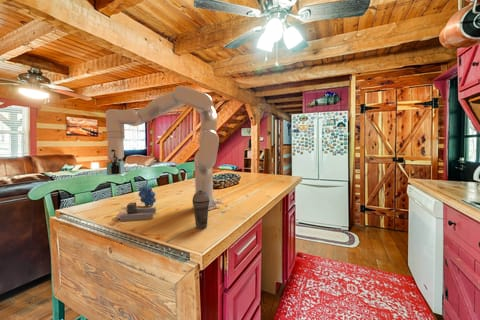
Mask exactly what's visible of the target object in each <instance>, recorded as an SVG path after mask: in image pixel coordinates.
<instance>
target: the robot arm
mask: <svg viewBox="0 0 480 320" xmlns="http://www.w3.org/2000/svg"><path fill="white" fill-rule="evenodd" d="M213 101H214V100H213V99H212V97H211V96H210V95H209V94H207V93H205V92H203V91H199V90H198V89H195V88H192V87H189V86H186V85H178V86H175V88H174V89H173V90H171V91H170V92H167V93H165V94H163V95H160V96H157V97H155V98H153V100H152V101H151V102H149V103H148V104H147V105H145V106H142V107H141V108H139V109H136V110H135V109H133V108H131V109H107V110H106V111H105V123H106V140H107V152H106V153H107V157H106V158H107V160H110V161H111V173H112V174H119V165H118V161H124V157H125V150H124V148H125V147H124V141H123V140H124V139H125V136H126V135H125V125H128V126H131V127H137V126H140V125H142V124H146V123H147V122H149V121H152V120H154V119H156V118H158V117H161V116H163V115H165V114H167V113H169V112H172V111H173V110H176V109H178V108H182V107H184V106H185V105H187V106H190V107H192V108H194V110H195V111H196V112H197V113H198V114H199V115H200V118H201V122H200V129H199V134H198V139H197V141H198V143H199V145H198V151H197V152H196V154H195V155H194V158H193V159H194V161H193V162H194V176H195V177H194V179H195V180H194V183H195V184H194V185H195V186H194V187H195V189H194V190H195V191H194V192H195V193H196V192H198V191H202V185H203V180H204V187H203V191H205V192H206V193H207V194H208V196H209V199H210V201H209V206H208V211H211V210H214V209H216V207H217V205H221V204H223V203H222V199H221V200H219V199H214V181H213V179H214V176H213V175H214V173H213V167H214V166H215V164H216V162H217V157H218V151H219V144H220V137H219V135H218V133H217V125H218V115H217V114H218V113H217V111H216V110H215V108H214V107H213ZM195 193H194V194H195ZM192 209H193V210H194V206H193V205H192Z"/></svg>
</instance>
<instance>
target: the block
mask: <svg viewBox="0 0 480 320" xmlns="http://www.w3.org/2000/svg"><path fill="white" fill-rule="evenodd" d="M105 163H106V176H115V175H123V174H125V161H124V160H123V161H118V165H119V174H112V173H111V160H110V161H106V162H105Z"/></svg>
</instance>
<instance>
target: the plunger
mask: <svg viewBox="0 0 480 320" xmlns="http://www.w3.org/2000/svg"><path fill="white" fill-rule="evenodd" d="M126 209H127V211H126V210H123V211H119V212H118V213H117V214H116V219H117V220H119V219H120V215H125V214H137V202H136V201H135V202H134V201H133V202H129V203H127V204H126Z"/></svg>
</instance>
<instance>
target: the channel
mask: <svg viewBox="0 0 480 320" xmlns="http://www.w3.org/2000/svg"><path fill="white" fill-rule="evenodd" d="M136 208H137V207H136ZM125 211H127V208H126V209H125ZM156 212H157V207H155V206H154V207H144V208H143V207H142V208H141V207H139V208H137V214H125V215H120V222H129V221H130V222H131V221H139V220H140V221H142V220H143V221H144V220H153V219H154V214H157V213H156Z"/></svg>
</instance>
